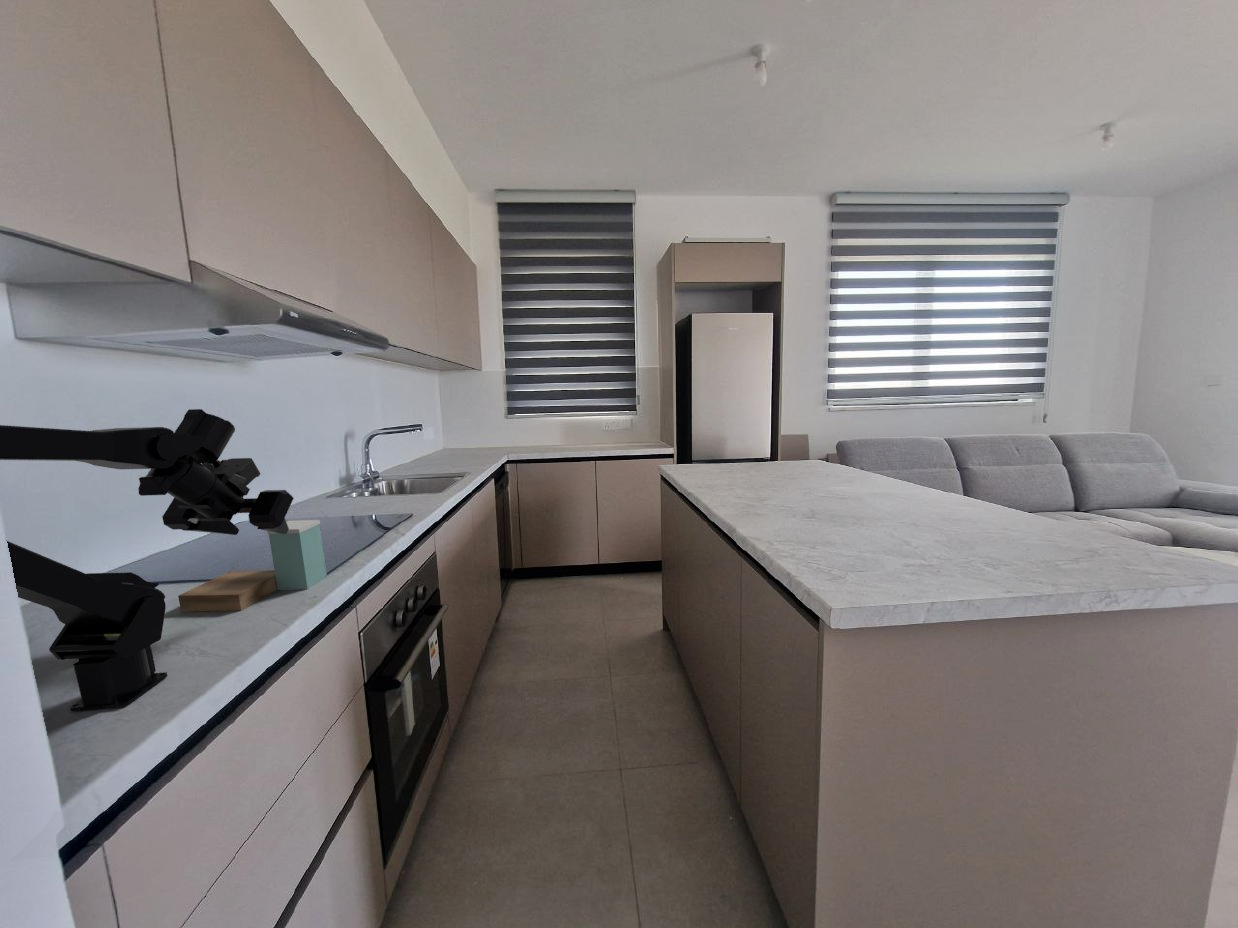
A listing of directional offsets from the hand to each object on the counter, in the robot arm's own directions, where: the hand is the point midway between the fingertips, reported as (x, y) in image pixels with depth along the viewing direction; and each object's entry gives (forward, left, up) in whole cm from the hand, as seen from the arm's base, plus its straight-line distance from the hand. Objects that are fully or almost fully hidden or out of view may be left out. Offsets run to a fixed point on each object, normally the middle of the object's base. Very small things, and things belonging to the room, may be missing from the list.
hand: (262, 531), depth 85 cm
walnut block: (+3, +8, -13) cm, 16 cm away
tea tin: (+7, -1, -13) cm, 15 cm away
